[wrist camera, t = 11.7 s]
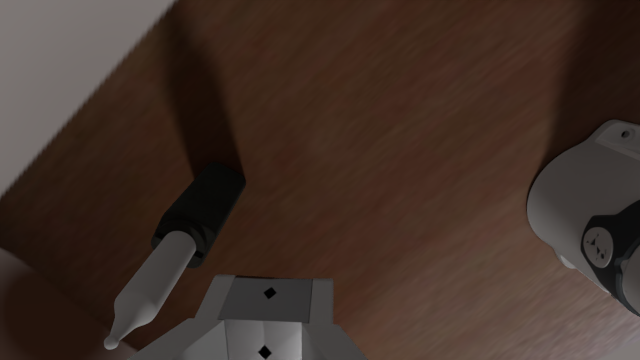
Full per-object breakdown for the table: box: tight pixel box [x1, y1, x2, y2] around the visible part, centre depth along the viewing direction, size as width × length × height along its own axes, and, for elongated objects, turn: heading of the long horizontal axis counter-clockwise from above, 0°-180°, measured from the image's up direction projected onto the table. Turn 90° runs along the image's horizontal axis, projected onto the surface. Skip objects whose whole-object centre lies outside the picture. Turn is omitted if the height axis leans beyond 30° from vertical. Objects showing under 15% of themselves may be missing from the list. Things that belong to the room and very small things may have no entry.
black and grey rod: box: [104, 162, 246, 349], centre depth 35 cm, size 5×5×25 cm
